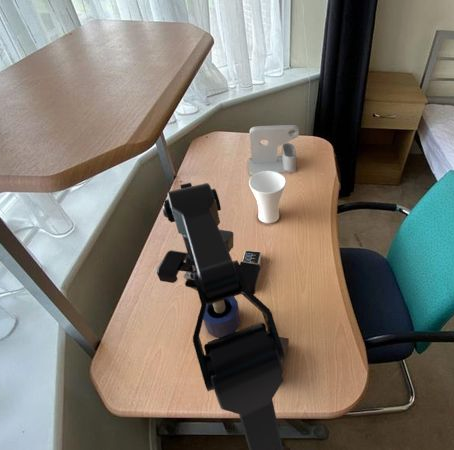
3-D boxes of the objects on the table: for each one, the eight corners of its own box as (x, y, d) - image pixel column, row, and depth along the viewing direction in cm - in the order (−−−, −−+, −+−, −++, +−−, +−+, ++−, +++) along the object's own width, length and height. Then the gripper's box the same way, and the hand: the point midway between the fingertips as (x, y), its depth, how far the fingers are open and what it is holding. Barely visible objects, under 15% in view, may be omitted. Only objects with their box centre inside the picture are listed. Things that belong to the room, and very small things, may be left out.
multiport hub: (261, 256, 89) (261, 251, 88) (254, 290, 82) (253, 285, 80) (245, 255, 90) (245, 250, 88) (237, 288, 82) (236, 283, 80)
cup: (251, 205, 104) (248, 171, 95) (284, 204, 105) (284, 170, 96) (252, 229, 97) (248, 194, 87) (287, 227, 98) (287, 192, 89)
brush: (223, 314, 70) (216, 286, 63) (212, 312, 70) (204, 284, 63) (227, 304, 72) (220, 276, 64) (216, 302, 72) (209, 274, 65)
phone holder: (293, 156, 125) (295, 112, 113) (297, 172, 118) (299, 126, 106) (248, 159, 123) (244, 114, 110) (249, 175, 116) (245, 129, 103)
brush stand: (281, 383, 66) (281, 376, 63) (243, 376, 67) (241, 369, 64) (288, 346, 72) (288, 338, 69) (253, 340, 72) (252, 331, 70)
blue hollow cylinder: (234, 340, 72) (231, 326, 68) (200, 334, 73) (195, 320, 68) (244, 310, 78) (242, 295, 73) (213, 304, 78) (208, 289, 74)
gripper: (267, 222, 62) (269, 272, 73) (173, 209, 63) (189, 259, 74) (251, 268, 54) (256, 316, 65) (144, 252, 55) (167, 301, 66)
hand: (216, 296), depth 68 cm, fingers closed on brush, 1 cm apart
